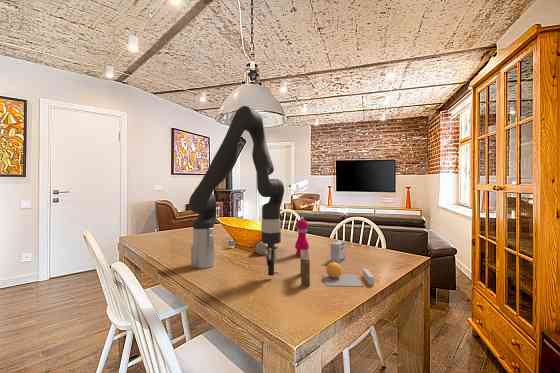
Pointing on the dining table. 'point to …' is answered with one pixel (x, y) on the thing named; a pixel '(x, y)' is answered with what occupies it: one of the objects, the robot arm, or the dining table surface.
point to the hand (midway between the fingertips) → (271, 275)
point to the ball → (334, 270)
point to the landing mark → (342, 280)
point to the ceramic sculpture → (261, 248)
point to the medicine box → (337, 251)
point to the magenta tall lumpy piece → (301, 236)
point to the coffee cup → (231, 243)
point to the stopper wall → (368, 277)
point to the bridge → (305, 268)
